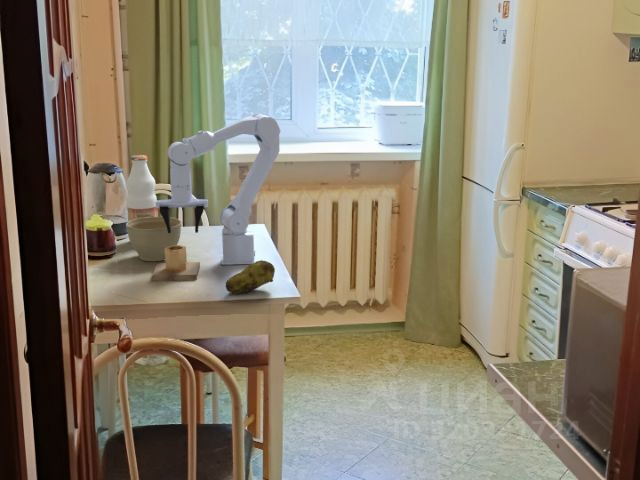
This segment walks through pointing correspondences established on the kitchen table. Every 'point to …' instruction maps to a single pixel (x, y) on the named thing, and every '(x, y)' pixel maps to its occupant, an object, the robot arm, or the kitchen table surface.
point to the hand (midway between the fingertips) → (183, 232)
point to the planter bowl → (152, 236)
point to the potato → (251, 277)
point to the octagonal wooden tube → (175, 258)
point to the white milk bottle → (141, 190)
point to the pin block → (188, 274)
